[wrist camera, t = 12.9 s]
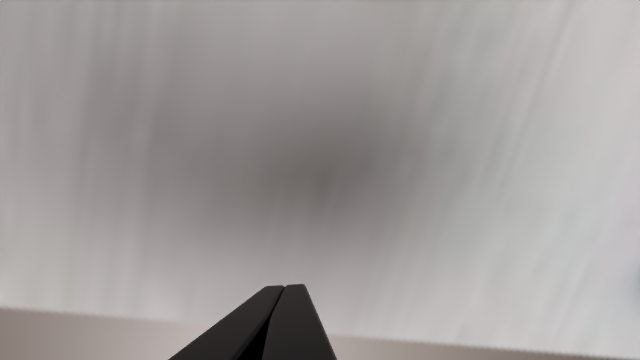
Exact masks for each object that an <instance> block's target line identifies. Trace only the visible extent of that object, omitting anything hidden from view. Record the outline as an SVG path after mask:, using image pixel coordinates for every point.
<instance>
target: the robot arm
mask: <svg viewBox="0 0 640 360" xmlns="http://www.w3.org/2000/svg"><path fill="white" fill-rule="evenodd" d="M168 360H337V358H336V356H335V354H334V351H333V349H332V346H331V344H330V342H329V340H328V337H327V335H326V333H325V330H324V328H323V326H322V323H321V321H320V319H319V316H318V314H317V312H316V309H315V307H314V305H313V302H312V300H311V298H310V295H309V293H308V291H307V288H306V286H305V285H304V284H295V285H287V286H286V287H284V286H282V285H278V286H266V287H264V288H263V289H261V290H260V291H259V292H257V293H256V294H255V295H253V296H252V297H251V298H249V299H248V300H247V301H246V302H244V303H243V304H242V305H240V306H239V307H238V308H236V309H235V310H234V311H232V312H231V313H230V314H228V315H227V316H226V317H224V318H223V319H222V320H220V321H219V322H218V323H216V324H215V325H214V326H212V327H211V328H210V329H208V330H207V331H206V332H204V333H203V334H202V335H200V336H199V337H198V338H196V339H195V340H194V341H192V342H191V343H190V344H189V345H187V346H186V347H184V348H183V349H182V350H181V351H179V352H178V353H177V354H175V355H174V356H172V357H171V358H170V359H168Z"/></svg>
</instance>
